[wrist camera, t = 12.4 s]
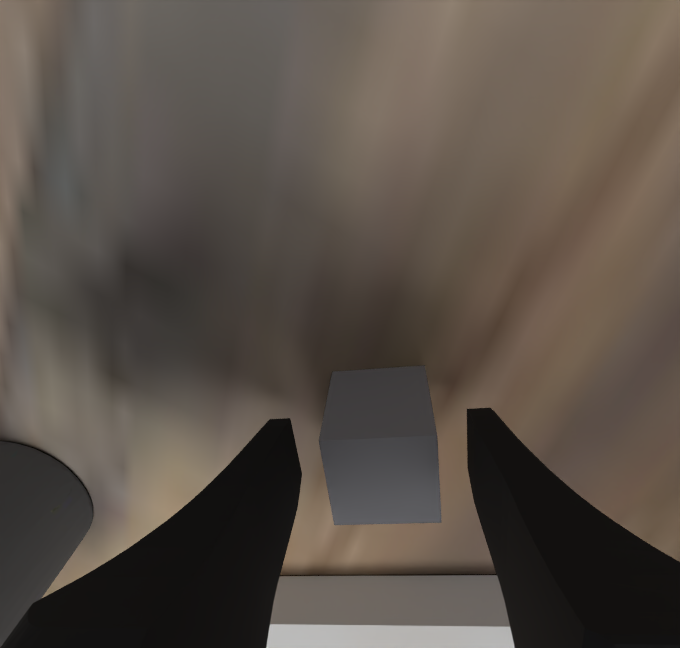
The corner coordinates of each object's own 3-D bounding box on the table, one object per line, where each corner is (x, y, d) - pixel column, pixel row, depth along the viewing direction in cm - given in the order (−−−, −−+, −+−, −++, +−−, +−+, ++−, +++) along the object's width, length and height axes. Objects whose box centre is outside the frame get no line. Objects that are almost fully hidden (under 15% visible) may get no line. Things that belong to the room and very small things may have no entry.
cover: (538, 241, 13) (602, 290, 9) (524, 498, 17) (565, 604, 13) (211, 274, 14) (150, 329, 10) (271, 505, 18) (243, 604, 14)
